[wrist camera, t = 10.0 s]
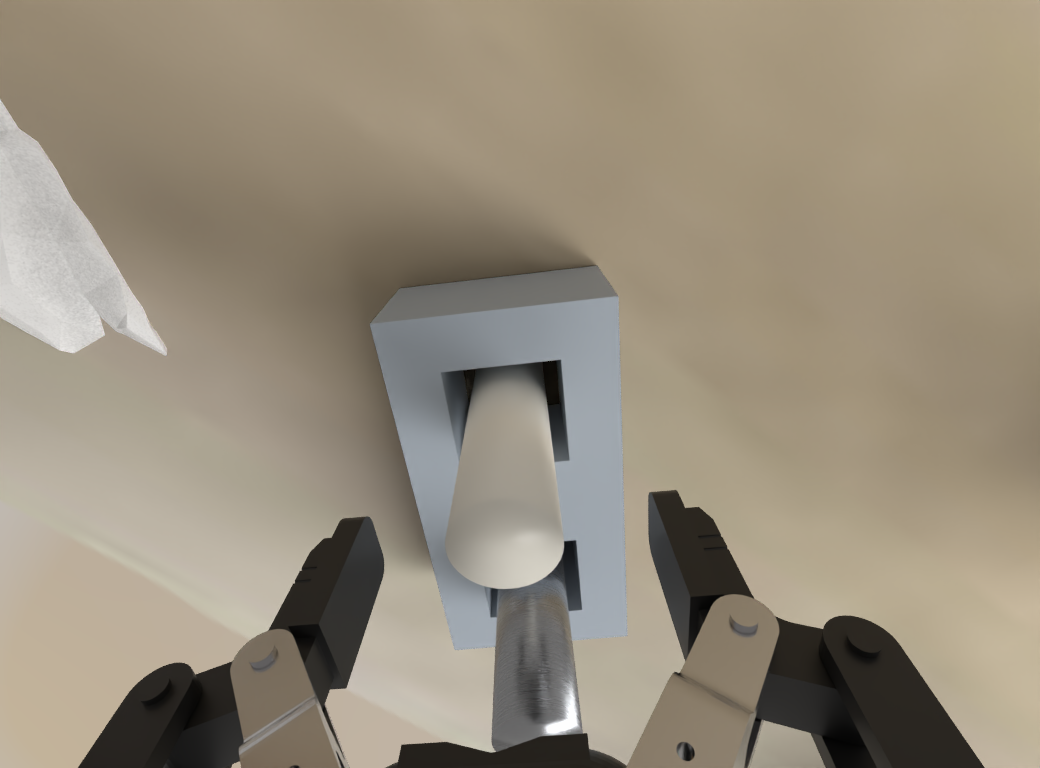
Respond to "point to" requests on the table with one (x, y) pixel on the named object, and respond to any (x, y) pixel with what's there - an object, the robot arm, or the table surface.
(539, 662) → the grey peg
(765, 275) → the table surface
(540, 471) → the cream peg
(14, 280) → the cloth
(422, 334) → the hole block
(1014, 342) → the table surface
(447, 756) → the robot arm
